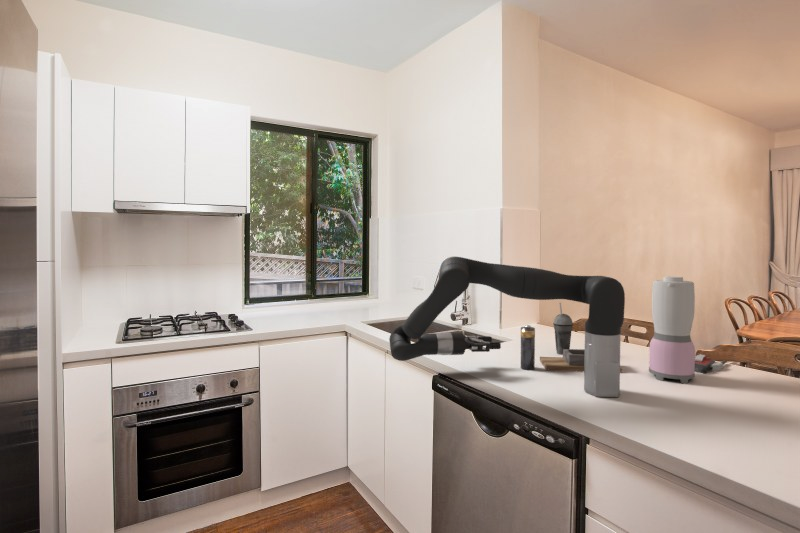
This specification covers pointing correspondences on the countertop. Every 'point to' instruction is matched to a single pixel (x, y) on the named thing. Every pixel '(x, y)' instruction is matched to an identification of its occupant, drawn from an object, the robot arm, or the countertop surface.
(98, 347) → the countertop surface
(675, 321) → the blender
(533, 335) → the cell
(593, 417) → the countertop surface
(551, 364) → the wood and grey block
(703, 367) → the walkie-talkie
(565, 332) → the beverage cup
